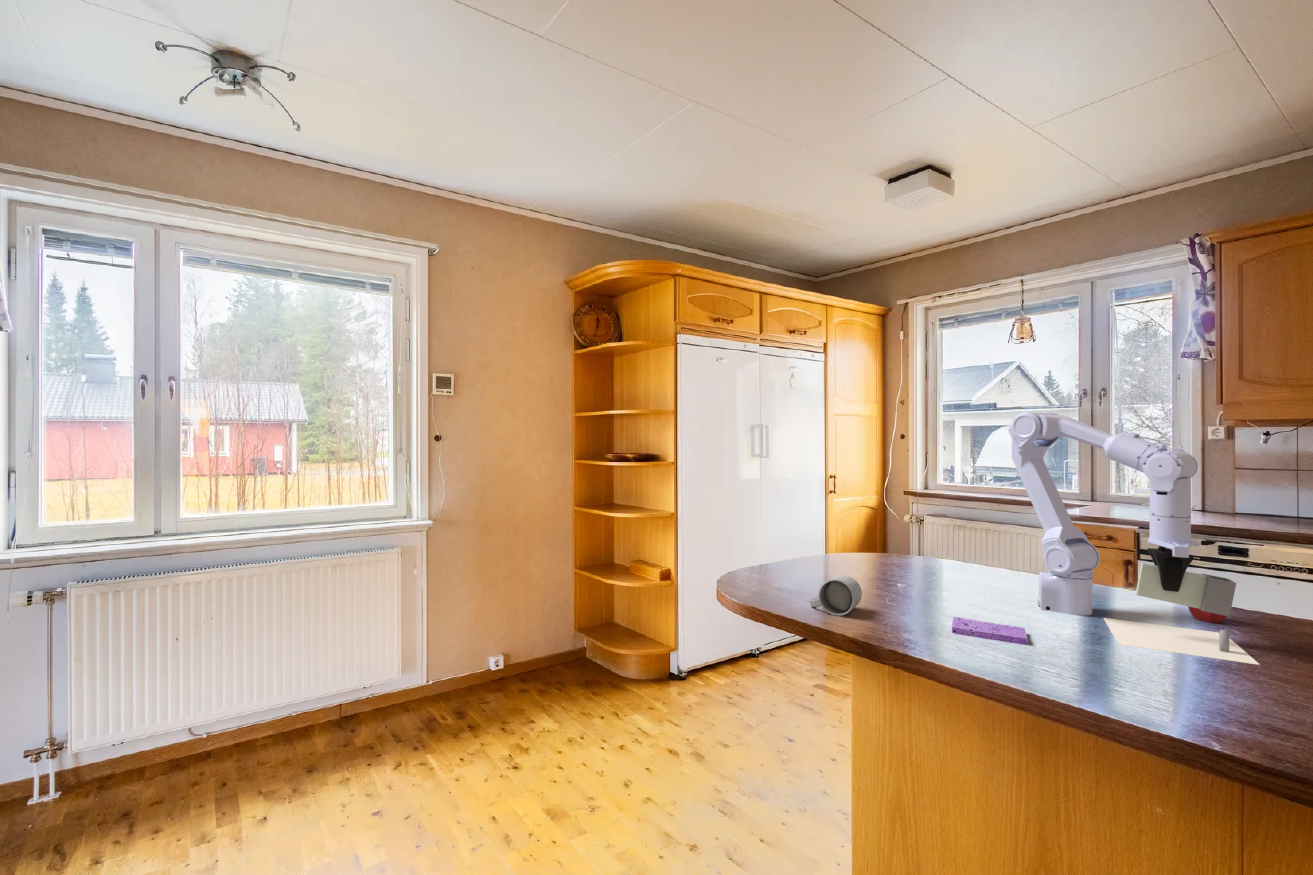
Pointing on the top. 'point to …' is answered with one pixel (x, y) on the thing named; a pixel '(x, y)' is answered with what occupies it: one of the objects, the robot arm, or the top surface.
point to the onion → (1206, 615)
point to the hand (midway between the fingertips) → (1169, 589)
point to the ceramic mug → (838, 595)
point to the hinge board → (1178, 640)
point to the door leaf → (1189, 590)
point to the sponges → (989, 630)
